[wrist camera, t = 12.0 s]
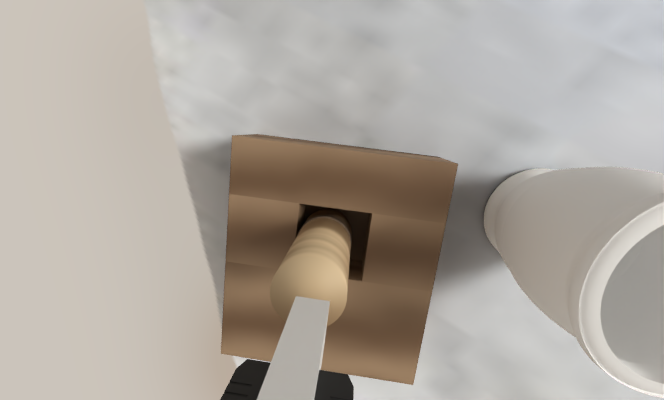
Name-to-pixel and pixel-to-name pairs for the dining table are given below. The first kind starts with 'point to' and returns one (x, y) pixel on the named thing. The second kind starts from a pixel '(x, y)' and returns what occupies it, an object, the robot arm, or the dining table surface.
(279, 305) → the peg
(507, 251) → the jar
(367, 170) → the wooden block with hole
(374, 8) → the dining table surface
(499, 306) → the dining table surface
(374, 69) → the dining table surface
